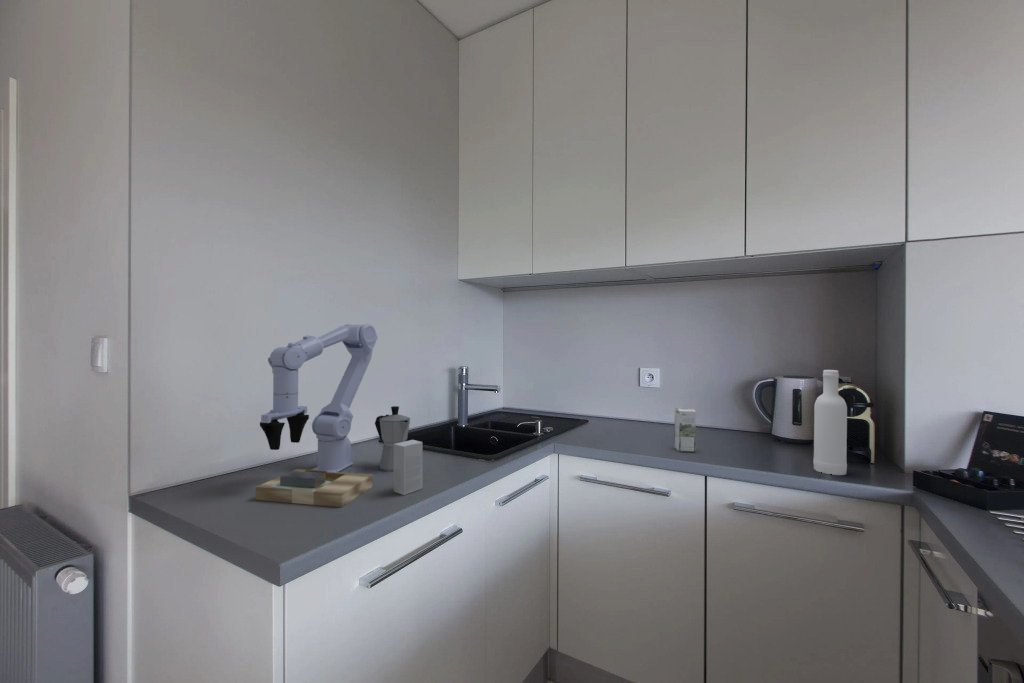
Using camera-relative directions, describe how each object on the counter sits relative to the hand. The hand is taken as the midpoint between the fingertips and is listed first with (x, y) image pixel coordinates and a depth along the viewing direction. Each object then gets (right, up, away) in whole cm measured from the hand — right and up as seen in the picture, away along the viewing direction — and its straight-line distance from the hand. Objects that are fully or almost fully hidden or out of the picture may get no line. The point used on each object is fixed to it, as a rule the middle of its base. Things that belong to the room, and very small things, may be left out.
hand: (285, 445), depth 110 cm
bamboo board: (+11, -10, -6) cm, 16 cm away
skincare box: (+33, -11, -4) cm, 35 cm away
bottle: (+153, -12, +15) cm, 154 cm away
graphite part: (+9, -7, -9) cm, 15 cm away
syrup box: (+120, -11, +39) cm, 126 cm away
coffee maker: (+23, -10, +16) cm, 30 cm away
